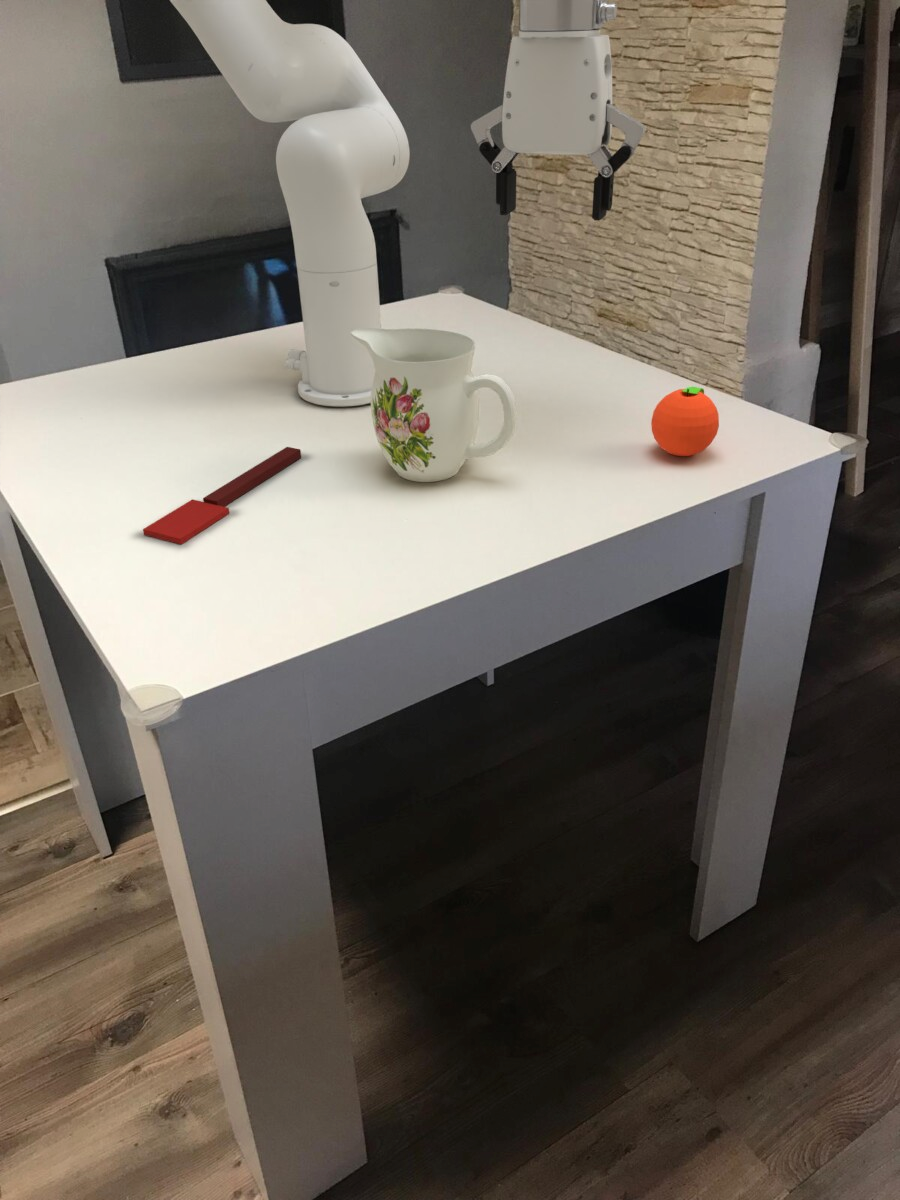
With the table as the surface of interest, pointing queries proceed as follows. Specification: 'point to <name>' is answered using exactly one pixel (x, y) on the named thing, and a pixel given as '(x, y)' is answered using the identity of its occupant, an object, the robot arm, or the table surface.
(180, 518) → the spatula
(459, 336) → the pitcher
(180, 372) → the table surface
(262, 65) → the robot arm
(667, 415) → the clementine
